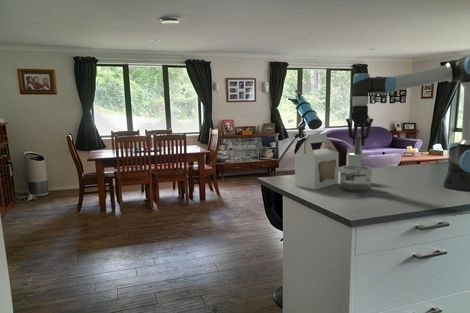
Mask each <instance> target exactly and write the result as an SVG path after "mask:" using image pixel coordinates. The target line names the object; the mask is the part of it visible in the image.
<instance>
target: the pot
mask: <svg viewBox="0 0 470 313" xmlns="http://www.w3.org/2000/svg"><path fill="white" fill-rule="evenodd" d="M338 173H339V174H340V176H339V180H340V181H339V188H340V190H341V191H343V190H344V192H349V193H367V192H368V193H369V192H371V190H372V174H373V173H374V167H371V166H367V165H361V166H357V165H354V166H353V165H350V166H347V165H342V166H338Z"/></svg>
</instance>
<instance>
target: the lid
mask: <svg viewBox="0 0 470 313" xmlns="http://www.w3.org/2000/svg"><path fill="white" fill-rule="evenodd" d="M360 139H361V134H360V135H357V136H355V145H354V148H355V152H352V153H348V156H350V157H362V158H369V157H370V153H368V152H363V151H362V152H361V153H360V152H359V147H360Z"/></svg>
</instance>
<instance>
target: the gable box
mask: <svg viewBox="0 0 470 313" xmlns="http://www.w3.org/2000/svg"><path fill="white" fill-rule="evenodd" d="M316 143H321V145H320V148H319V149H318V148H317V149H313V147H312V144H316ZM339 153H340V152H339V151H338V149H337V148H336V147H335V144H333V142H332V141H331V139H330V138H328V136H327V133H325V132H324V133H316V134H308V135H307V136H305V141H303V143H302V144H301V146H300V147H299V148H298V150H297V151H296V153H295V154H294V187H299V188H303V189H308V190H315V191H316V190H318V189H322V188H326V187H329V186H333V185H338V184H339V171H338V168H339V167H340V166H339V163H340V162H339V160H340V159H339V157H340V155H339Z"/></svg>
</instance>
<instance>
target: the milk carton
mask: <svg viewBox="0 0 470 313" xmlns="http://www.w3.org/2000/svg"><path fill="white" fill-rule="evenodd" d="M352 152H355V147H353V148H352V147H349V148H348V147H347V152H346V166H350V165H353V166H354V165H357V166H362V159H363V157H350V156H348V153H352Z"/></svg>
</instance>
